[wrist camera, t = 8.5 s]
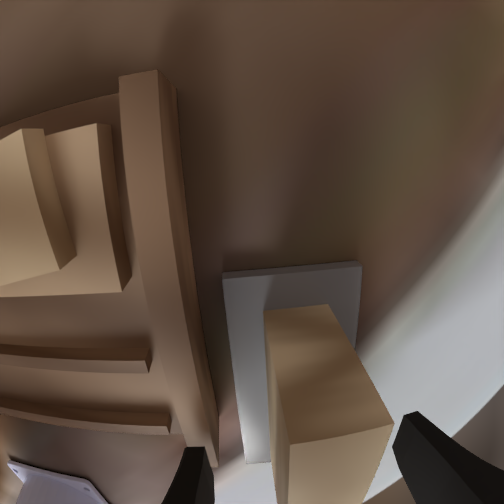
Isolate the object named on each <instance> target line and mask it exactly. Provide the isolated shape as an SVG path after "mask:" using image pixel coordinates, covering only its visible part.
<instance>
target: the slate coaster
mask: <svg viewBox="0 0 504 504" xmlns="http://www.w3.org/2000/svg"><path fill="white" fill-rule="evenodd" d="M361 281H362V265H361V264H360V263H359V262H358V261H357V260H356V261H345V262H335V263H324V264H314V265H303V266H292V267H281V268H269V269H258V270H246V271H234V272H222V283H223V292H224V301H225V309H226V318H227V327H228V335H229V343H230V351H231V359H232V367H233V375H234V382H235V390H236V397H237V405H238V412H239V419H240V426H241V433H242V440H243V446H244V453H245V460H246V464H255V463H266V462H271V456H270V436H269V416H268V396H267V377H266V359H265V341H264V323H263V311H267V310H277V309H287V308H296V307H306V306H314V305H323V304H328V305H329V307H330V308H331V310H332V312H333V314H334V315H335V317H336V319H337V320H338V322H339V324H340V326H341V327H342V329H343V331H344V333H345V334H346V336H347V338H348V340H349V341H350V343H351V345H352V347H353V348H354V350H355V344H356V335H357V326H358V317H359V306H360V294H361Z"/></svg>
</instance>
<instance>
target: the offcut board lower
mask: <svg viewBox="0 0 504 504" xmlns="http://www.w3.org/2000/svg"><path fill="white" fill-rule="evenodd" d="M45 140H46V145H47V150H48V155H49V159H50V164H51V168H52V172H53V176H54V180H55V184H56V188H57V192H58V196H59V199H60V203H61V206H62V210H63V213H64V217H65V220H66V223H67V227H68V230H69V233H70V236H71V239H72V242H73V245H74V248H75V251H76V254H77V256H76V257H75V258H73V259H72V260H71V261H70V262H69V263H68V264H66V265H65V266H64V267H63V268H62V269H61V270H59V271H55V272H51V273H47V274H43V275H40V276H36V277H32V278H28V279H25V280H21V281H17V282H13V283H10V284H6V285H2V286H0V297H22V296H50V295H74V294H94V293H113V292H122V291H123V290H124V288H125V287H126V285H127V284H128V282H129V281H130V279H131V278H132V274H131V269H130V263H129V258H128V253H127V247H126V242H125V236H124V230H123V224H122V218H121V211H120V204H119V197H118V189H117V181H116V173H115V164H114V154H113V143H112V131H111V125H107V124H99V123H95V124H91V125H86V126H82V127H78V128H74V129H70V130H66V131H62V132H58V133H54V134H51V135H47V136H45Z"/></svg>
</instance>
